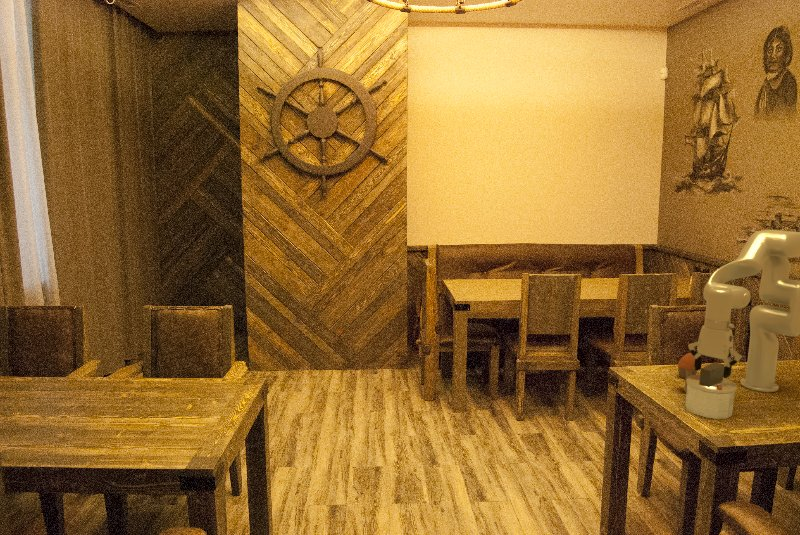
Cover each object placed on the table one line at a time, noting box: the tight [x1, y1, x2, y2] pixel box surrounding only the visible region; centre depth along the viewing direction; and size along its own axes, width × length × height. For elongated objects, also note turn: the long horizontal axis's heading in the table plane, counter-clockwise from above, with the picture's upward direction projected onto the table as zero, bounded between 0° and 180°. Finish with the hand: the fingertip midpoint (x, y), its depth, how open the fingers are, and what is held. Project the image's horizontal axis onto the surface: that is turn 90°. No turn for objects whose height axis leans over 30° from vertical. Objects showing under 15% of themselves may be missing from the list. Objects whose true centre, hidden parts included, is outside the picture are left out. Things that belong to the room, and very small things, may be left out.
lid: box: [685, 361, 737, 394], centre depth 206 cm, size 15×15×8 cm
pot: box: [684, 384, 735, 420], centre depth 207 cm, size 14×14×9 cm
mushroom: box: [677, 352, 695, 393], centre depth 224 cm, size 8×8×15 cm
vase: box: [677, 365, 698, 380], centre depth 239 cm, size 7×7×9 cm
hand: (711, 373), depth 205 cm, fingers open, 9 cm apart
